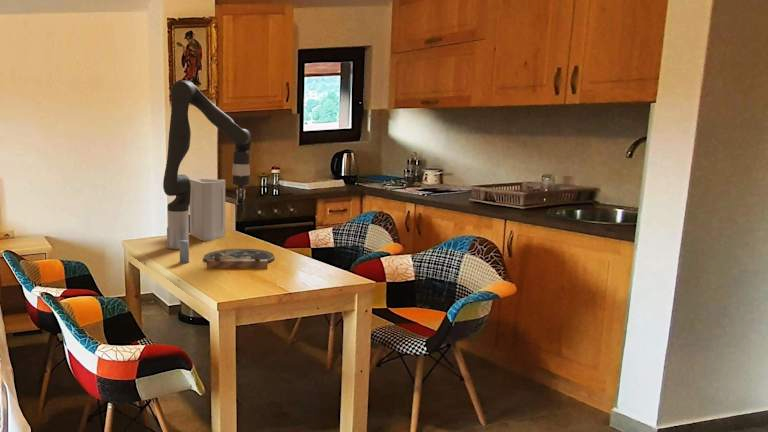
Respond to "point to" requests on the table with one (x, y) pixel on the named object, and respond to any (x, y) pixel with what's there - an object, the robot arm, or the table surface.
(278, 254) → the table surface
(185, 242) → the dowel
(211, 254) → the decorative plate
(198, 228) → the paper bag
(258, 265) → the bench stop
